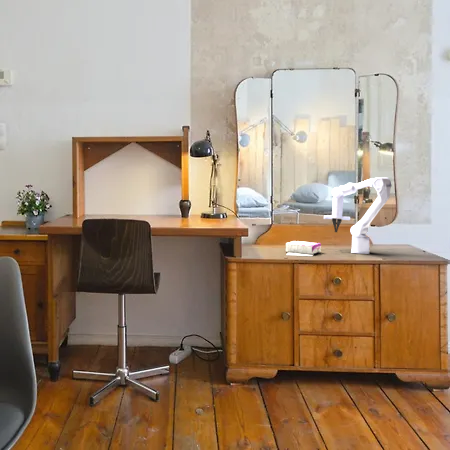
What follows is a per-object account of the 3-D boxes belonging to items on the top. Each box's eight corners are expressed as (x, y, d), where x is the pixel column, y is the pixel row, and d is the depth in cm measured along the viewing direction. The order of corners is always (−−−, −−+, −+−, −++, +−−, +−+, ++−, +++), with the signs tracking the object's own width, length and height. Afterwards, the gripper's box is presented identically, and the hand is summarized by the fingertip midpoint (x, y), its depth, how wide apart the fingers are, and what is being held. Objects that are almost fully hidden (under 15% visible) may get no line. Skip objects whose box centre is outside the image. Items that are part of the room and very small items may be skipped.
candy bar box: (321, 252, 247) (294, 249, 257) (321, 243, 247) (295, 240, 257) (311, 255, 238) (285, 251, 248) (312, 245, 238) (285, 242, 248)
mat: (314, 251, 250) (314, 251, 250) (312, 256, 235) (312, 256, 235) (290, 250, 254) (290, 250, 254) (286, 255, 239) (286, 254, 239)
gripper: (350, 208, 256) (348, 231, 258) (324, 207, 259) (323, 230, 261) (350, 209, 249) (349, 233, 251) (324, 208, 252) (322, 231, 254)
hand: (336, 232), depth 255 cm, fingers closed
